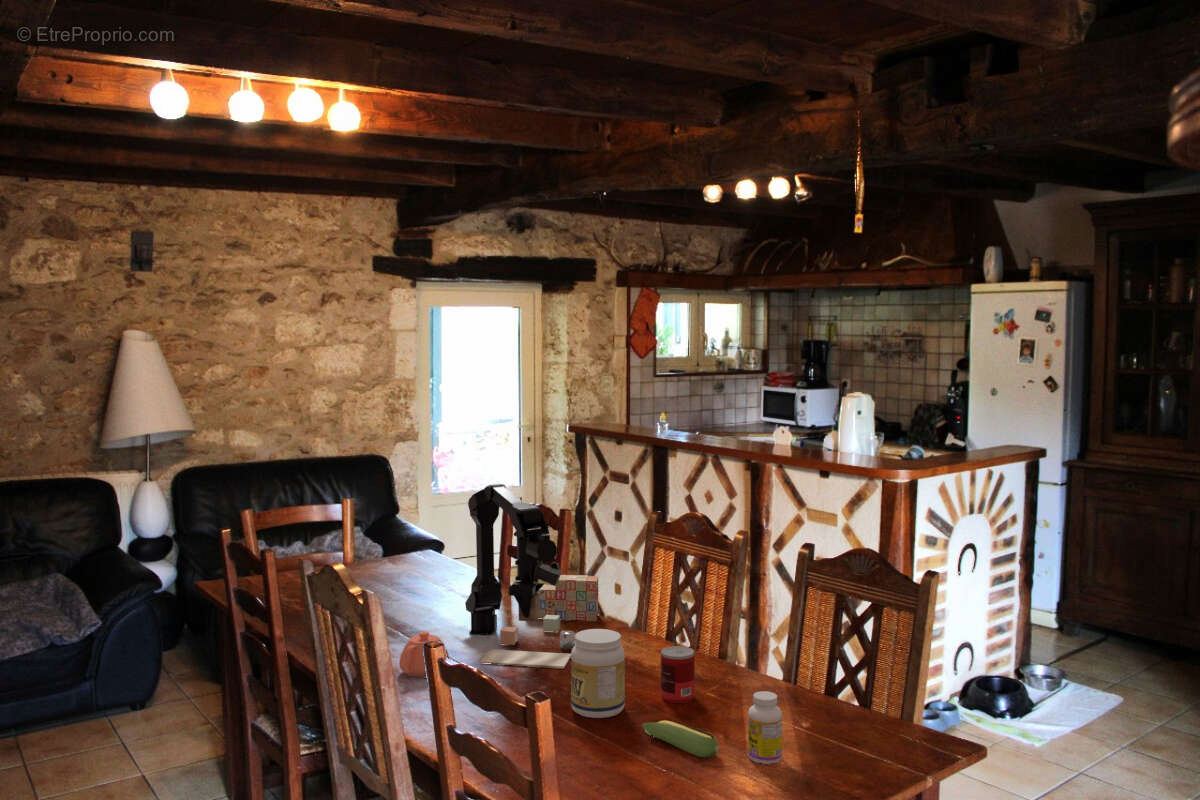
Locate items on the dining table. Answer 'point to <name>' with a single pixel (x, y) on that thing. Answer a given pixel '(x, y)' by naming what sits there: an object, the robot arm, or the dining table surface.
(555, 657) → the oak board
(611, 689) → the supplement tub
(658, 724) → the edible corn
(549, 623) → the sage green block
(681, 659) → the canned food
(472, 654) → the dining table surface
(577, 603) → the stack of blocks
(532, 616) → the walnut block
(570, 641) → the metal tin
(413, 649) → the terracotta lidded pot
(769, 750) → the supplement bottle
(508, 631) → the terracotta cube
